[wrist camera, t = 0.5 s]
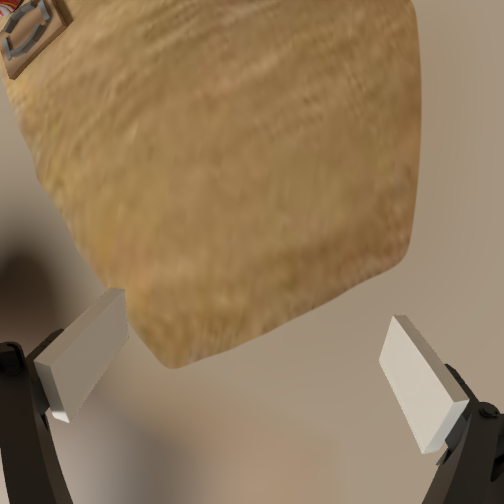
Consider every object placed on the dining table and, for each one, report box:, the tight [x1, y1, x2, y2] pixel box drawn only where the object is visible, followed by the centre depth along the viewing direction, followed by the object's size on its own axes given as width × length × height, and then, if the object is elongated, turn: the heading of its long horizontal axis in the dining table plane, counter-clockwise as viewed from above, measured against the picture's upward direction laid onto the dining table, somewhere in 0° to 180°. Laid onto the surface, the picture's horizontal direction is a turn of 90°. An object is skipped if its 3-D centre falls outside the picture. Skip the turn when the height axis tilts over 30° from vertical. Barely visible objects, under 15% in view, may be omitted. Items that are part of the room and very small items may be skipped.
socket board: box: [0, 0, 67, 80], centre depth 31 cm, size 13×13×3 cm
